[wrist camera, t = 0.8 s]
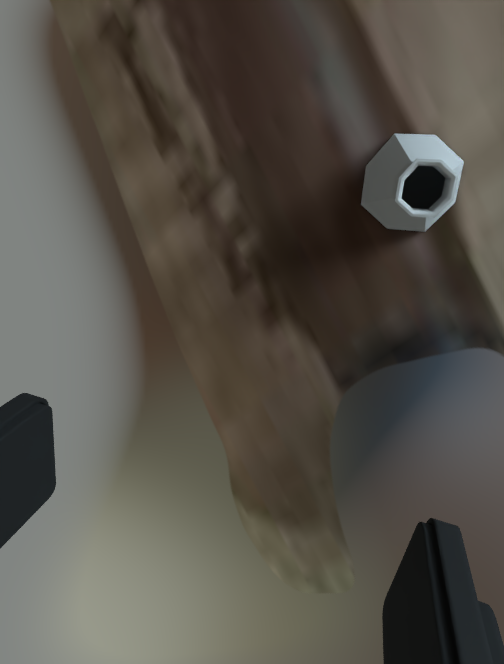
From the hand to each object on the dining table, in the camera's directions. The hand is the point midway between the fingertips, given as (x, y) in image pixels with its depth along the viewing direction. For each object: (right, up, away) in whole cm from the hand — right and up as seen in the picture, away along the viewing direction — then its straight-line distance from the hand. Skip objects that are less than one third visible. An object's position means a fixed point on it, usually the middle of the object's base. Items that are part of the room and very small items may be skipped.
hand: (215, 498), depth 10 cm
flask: (+13, +15, +22) cm, 30 cm away
